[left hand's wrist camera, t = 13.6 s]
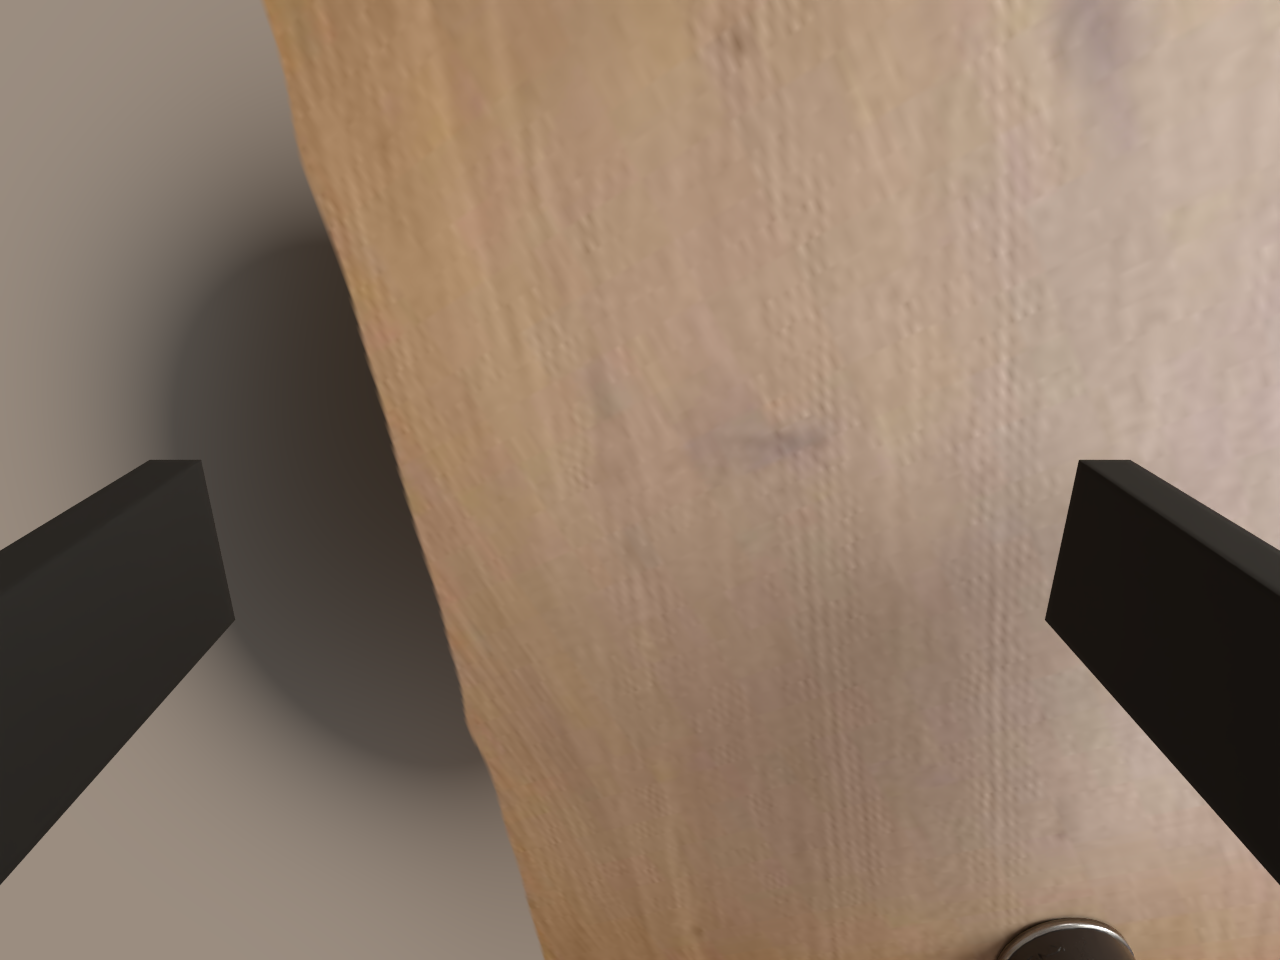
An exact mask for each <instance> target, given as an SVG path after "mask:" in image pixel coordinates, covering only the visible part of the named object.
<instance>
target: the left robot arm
mask: <svg viewBox="0 0 1280 960" xmlns="http://www.w3.org/2000/svg"><path fill="white" fill-rule="evenodd" d="M234 620H235V617H234V613H233V608H232V603H231V598H230V594H229V589H228V584H227V580H226V575H225V570H224V566H223V561H222V556H221V552H220V547H219V542H218V538H217V533H216V528H215V523H214V519H213V514H212V509H211V505H210V500H209V495H208V491H207V486H206V481H205V476H204V472H203V467H202V462H201V460H149V461H147V462H146V463H144V464H142V465H141V466H139V467H137V468H136V469H134V470H133V471H131V472H129V473H128V474H126V475H124V476H123V477H121V478H119V479H118V480H116V481H114V482H113V483H111V484H109V485H108V486H106V487H104V488H103V489H101V490H99V491H98V492H96V493H94V494H93V495H91V496H90V497H88V498H86V499H85V500H83V501H81V502H80V503H78V504H76V505H75V506H73V507H71V508H70V509H68V510H66V511H65V512H63V513H62V514H60V515H58V516H57V517H55V518H53V519H52V520H50V521H48V522H47V523H45V524H43V525H42V526H40V527H38V528H37V529H35V530H34V531H32V532H30V533H29V534H27V535H25V536H24V537H22V538H20V539H19V540H17V541H15V542H14V543H12V544H10V545H9V546H7V547H5V548H4V549H2V550H1V551H0V885H1V883H2V882H3V881H4V880H5V879H6V878H7V877H8V876H9V874H10V873H11V872H12V871H13V870H14V869H15V868H16V867H17V865H18V864H19V863H20V862H21V861H22V860H23V859H24V858H25V856H26V855H27V854H28V853H29V852H30V851H31V850H32V848H33V847H34V846H35V845H36V844H37V843H38V842H39V841H40V839H41V838H42V837H43V836H44V835H45V834H46V833H47V832H48V830H49V829H50V828H51V827H52V826H53V825H54V824H55V823H56V821H57V820H58V819H59V818H60V817H61V816H62V815H63V813H64V812H65V811H66V810H67V809H68V808H69V807H70V806H71V804H72V803H73V802H74V801H75V800H76V799H77V798H78V797H79V795H80V794H81V793H82V792H83V791H84V790H85V789H86V787H87V786H88V785H89V784H90V783H91V782H92V781H93V780H94V778H95V777H96V776H97V775H98V774H99V773H100V772H101V771H102V769H103V768H104V767H105V766H106V765H107V764H108V763H109V761H110V760H111V759H112V758H113V757H114V756H115V755H116V754H117V753H118V751H119V750H120V749H121V748H122V747H123V746H124V745H125V743H126V742H127V741H128V740H129V739H130V738H131V737H132V735H133V734H134V733H135V732H136V731H137V730H138V729H139V728H140V727H141V725H142V724H143V723H144V722H145V721H146V720H147V719H148V717H149V716H150V715H151V714H152V713H153V712H154V711H155V710H156V708H157V707H158V706H159V705H160V704H161V703H162V702H163V701H164V699H165V698H166V697H167V696H168V695H169V694H170V693H171V691H172V690H173V689H174V688H175V687H176V686H177V685H178V684H179V682H180V681H181V680H182V679H183V678H184V677H185V676H186V675H187V673H188V672H189V671H190V670H191V669H192V668H193V667H194V666H195V664H196V663H197V662H198V661H199V660H200V659H201V658H202V656H203V655H204V654H205V653H206V652H207V651H208V650H209V649H210V648H211V646H212V645H213V644H214V643H215V642H216V641H217V640H218V638H219V637H220V636H221V635H222V634H223V633H224V632H225V631H226V629H227V628H228V627H229V626H230V625H231V624H232V623H233V622H234ZM1045 620H1046V622H1047V623H1048V624H1049V625H1050V626H1051V627H1052V628H1053V629H1054V631H1055V632H1056V633H1057V634H1058V635H1059V636H1060V637H1061V638H1062V640H1063V641H1064V642H1065V643H1066V644H1067V645H1068V646H1069V648H1070V649H1071V650H1072V651H1073V652H1074V653H1075V654H1076V655H1077V657H1078V658H1079V659H1080V660H1081V661H1082V662H1083V663H1084V664H1085V666H1086V667H1087V668H1088V669H1089V670H1090V671H1091V672H1092V673H1093V675H1094V676H1095V677H1096V678H1097V679H1098V680H1099V681H1100V683H1101V684H1102V685H1103V686H1104V687H1105V688H1106V689H1107V690H1108V692H1109V693H1110V694H1111V695H1112V696H1113V697H1114V698H1115V699H1116V701H1117V702H1118V703H1119V704H1120V705H1121V706H1122V707H1123V708H1124V710H1125V711H1126V712H1127V713H1128V714H1129V715H1130V716H1131V718H1132V719H1133V720H1134V721H1135V722H1136V723H1137V724H1138V725H1139V727H1140V728H1141V729H1142V730H1143V731H1144V732H1145V733H1146V734H1147V736H1148V737H1149V738H1150V739H1151V740H1152V741H1153V742H1154V743H1155V745H1156V746H1157V747H1158V748H1159V749H1160V750H1161V751H1162V753H1163V754H1164V755H1165V756H1166V757H1167V758H1168V759H1169V760H1170V762H1171V763H1172V764H1173V765H1174V766H1175V767H1176V768H1177V769H1178V771H1179V772H1180V773H1181V774H1182V775H1183V776H1184V777H1185V778H1186V780H1187V781H1188V782H1189V783H1190V784H1191V785H1192V786H1193V788H1194V789H1195V790H1196V791H1197V792H1198V793H1199V794H1200V795H1201V797H1202V798H1203V799H1204V800H1205V801H1206V802H1207V803H1208V804H1209V806H1210V807H1211V808H1212V809H1213V810H1214V811H1215V812H1216V813H1217V815H1218V816H1219V817H1220V818H1221V819H1222V820H1223V821H1224V823H1225V824H1226V825H1227V826H1228V827H1229V828H1230V829H1231V830H1232V832H1233V833H1234V834H1235V835H1236V836H1237V837H1238V838H1239V839H1240V841H1241V842H1242V843H1243V844H1244V845H1245V846H1246V847H1247V848H1248V850H1249V851H1250V852H1251V853H1252V854H1253V855H1254V856H1255V858H1256V859H1257V860H1258V861H1259V862H1260V863H1261V864H1262V865H1263V867H1264V868H1265V869H1266V870H1267V871H1268V872H1269V873H1270V874H1271V876H1272V877H1273V878H1274V879H1275V880H1276V881H1277V882H1278V883H1279V885H1280V551H1279V550H1278V549H1276V548H1275V547H1273V546H1271V545H1270V544H1268V543H1266V542H1265V541H1263V540H1261V539H1260V538H1258V537H1256V536H1255V535H1253V534H1251V533H1250V532H1248V531H1246V530H1245V529H1243V528H1242V527H1240V526H1238V525H1237V524H1235V523H1233V522H1232V521H1230V520H1228V519H1227V518H1225V517H1223V516H1222V515H1220V514H1218V513H1217V512H1215V511H1214V510H1212V509H1210V508H1209V507H1207V506H1205V505H1204V504H1202V503H1200V502H1199V501H1197V500H1195V499H1194V498H1192V497H1190V496H1189V495H1187V494H1186V493H1184V492H1182V491H1181V490H1179V489H1177V488H1176V487H1174V486H1172V485H1171V484H1169V483H1167V482H1166V481H1164V480H1162V479H1161V478H1159V477H1157V476H1156V475H1154V474H1153V473H1151V472H1149V471H1148V470H1146V469H1144V468H1143V467H1141V466H1139V465H1138V464H1136V463H1134V462H1133V461H1131V460H1079V462H1078V467H1077V472H1076V476H1075V481H1074V486H1073V491H1072V495H1071V500H1070V505H1069V509H1068V514H1067V519H1066V523H1065V528H1064V533H1063V537H1062V542H1061V547H1060V552H1059V556H1058V561H1057V566H1056V570H1055V575H1054V580H1053V584H1052V589H1051V594H1050V598H1049V603H1048V608H1047V613H1046V617H1045Z"/></svg>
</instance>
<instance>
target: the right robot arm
mask: <svg viewBox="0 0 1280 960" xmlns="http://www.w3.org/2000/svg"><path fill="white" fill-rule="evenodd" d="M997 960H1135V958H1134V955H1133V952H1132V950H1131V949H1130V947H1129V945H1128V944H1127V942H1126V941H1125V939H1124V937H1123V936H1122V935H1121V934H1120V933H1119V932H1118V931H1117V930H1115V929H1114V928H1113V927H1111V926H1109V925H1107V924H1105V923H1102V922H1099V921H1096V920H1092V919H1086V918H1063V919H1057V920H1052V921H1048V922H1045V923H1042V924H1039V925H1036V926H1034V927H1032V928H1030V929H1028V930H1026V931H1024V932H1023V933H1021V934H1019V935H1018V936H1017V937H1015V938H1014V939H1013V940H1012V941H1011V942H1009V943H1008V945H1007V946H1006V947H1005V948H1004V949H1003V950H1002V952H1001V953H1000V955H999V957H998V959H997Z"/></svg>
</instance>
